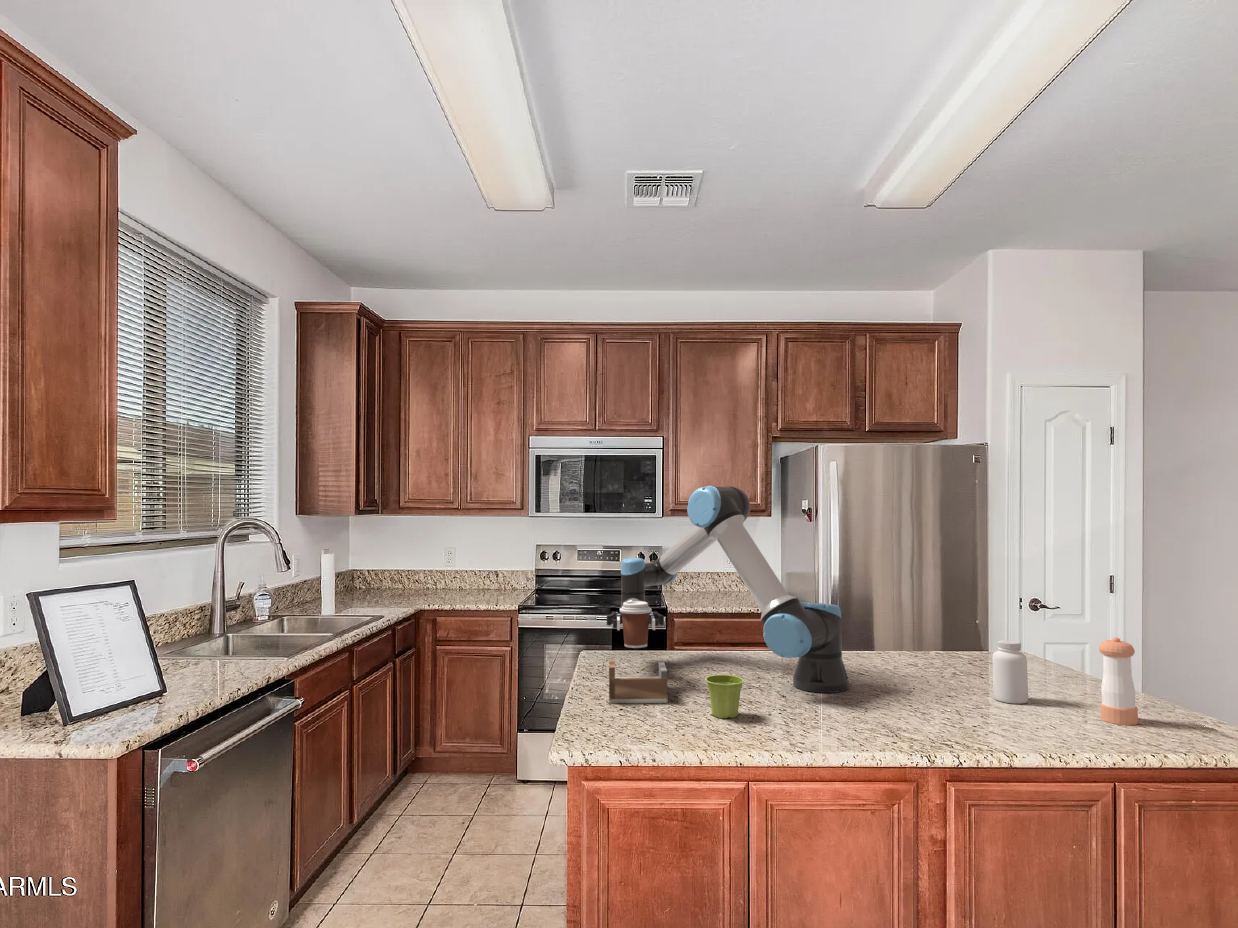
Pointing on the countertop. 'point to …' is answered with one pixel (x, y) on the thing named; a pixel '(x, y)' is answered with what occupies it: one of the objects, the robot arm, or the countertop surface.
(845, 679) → the robot arm
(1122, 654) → the pepper shaker
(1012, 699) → the pill bottle
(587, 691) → the countertop surface
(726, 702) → the plant pot
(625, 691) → the shelf
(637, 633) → the coffee cup
